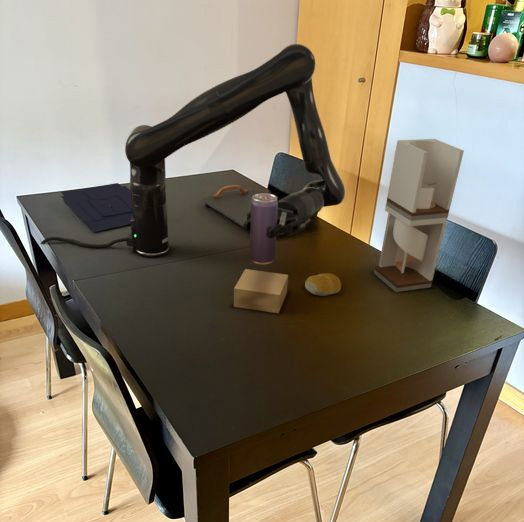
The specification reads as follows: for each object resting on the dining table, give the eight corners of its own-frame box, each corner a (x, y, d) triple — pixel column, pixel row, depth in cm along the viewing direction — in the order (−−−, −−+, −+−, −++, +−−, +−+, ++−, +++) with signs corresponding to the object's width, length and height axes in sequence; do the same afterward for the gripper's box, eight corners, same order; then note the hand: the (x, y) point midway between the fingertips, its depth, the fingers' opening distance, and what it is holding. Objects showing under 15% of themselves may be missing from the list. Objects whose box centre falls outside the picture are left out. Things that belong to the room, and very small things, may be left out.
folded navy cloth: (123, 189, 195) (122, 179, 193) (164, 225, 178) (164, 215, 176) (55, 200, 182) (54, 190, 180) (93, 240, 165) (92, 229, 163)
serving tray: (196, 204, 189) (195, 186, 186) (252, 195, 201) (252, 178, 197) (257, 243, 163) (258, 223, 160) (317, 230, 174) (319, 211, 171)
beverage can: (272, 266, 126) (275, 203, 117) (247, 263, 127) (248, 200, 118) (276, 256, 131) (280, 194, 122) (252, 253, 132) (254, 191, 123)
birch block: (233, 306, 131) (233, 288, 128) (244, 286, 140) (245, 268, 137) (278, 313, 129) (279, 294, 126) (286, 292, 138) (288, 274, 135)
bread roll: (346, 291, 140) (348, 277, 138) (318, 299, 136) (320, 285, 134) (326, 278, 146) (328, 265, 143) (299, 286, 141) (300, 272, 139)
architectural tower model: (373, 273, 150) (397, 140, 130) (407, 269, 153) (434, 138, 134) (395, 292, 141) (424, 152, 122) (430, 287, 144) (463, 150, 125)
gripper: (270, 189, 135) (231, 207, 123) (322, 201, 129) (286, 222, 117) (269, 218, 140) (231, 238, 128) (318, 231, 133) (283, 254, 121)
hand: (257, 230), depth 122 cm, fingers closed on beverage can, 6 cm apart
